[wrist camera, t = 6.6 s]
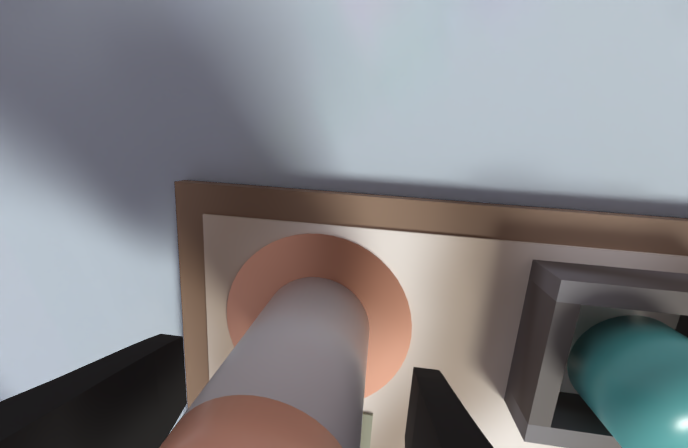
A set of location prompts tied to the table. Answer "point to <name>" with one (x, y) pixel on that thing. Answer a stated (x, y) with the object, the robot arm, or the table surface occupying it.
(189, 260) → the beige base plate
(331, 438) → the capsule peg
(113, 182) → the table surface
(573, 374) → the button
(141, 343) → the robot arm
